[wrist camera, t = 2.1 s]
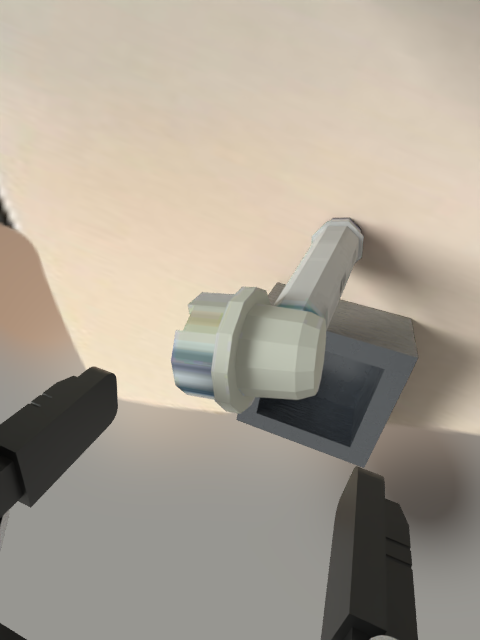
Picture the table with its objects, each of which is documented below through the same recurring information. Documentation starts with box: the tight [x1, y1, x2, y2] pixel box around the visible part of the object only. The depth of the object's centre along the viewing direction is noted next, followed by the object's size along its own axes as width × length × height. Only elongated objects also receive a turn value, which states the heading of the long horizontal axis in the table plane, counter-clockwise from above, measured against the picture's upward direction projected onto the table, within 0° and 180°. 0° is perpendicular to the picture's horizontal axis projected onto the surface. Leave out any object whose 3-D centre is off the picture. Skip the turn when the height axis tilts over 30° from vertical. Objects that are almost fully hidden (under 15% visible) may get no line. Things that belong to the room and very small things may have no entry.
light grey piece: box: [171, 218, 364, 414], centre depth 23 cm, size 5×7×25 cm
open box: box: [237, 283, 418, 468], centre depth 36 cm, size 14×14×8 cm
